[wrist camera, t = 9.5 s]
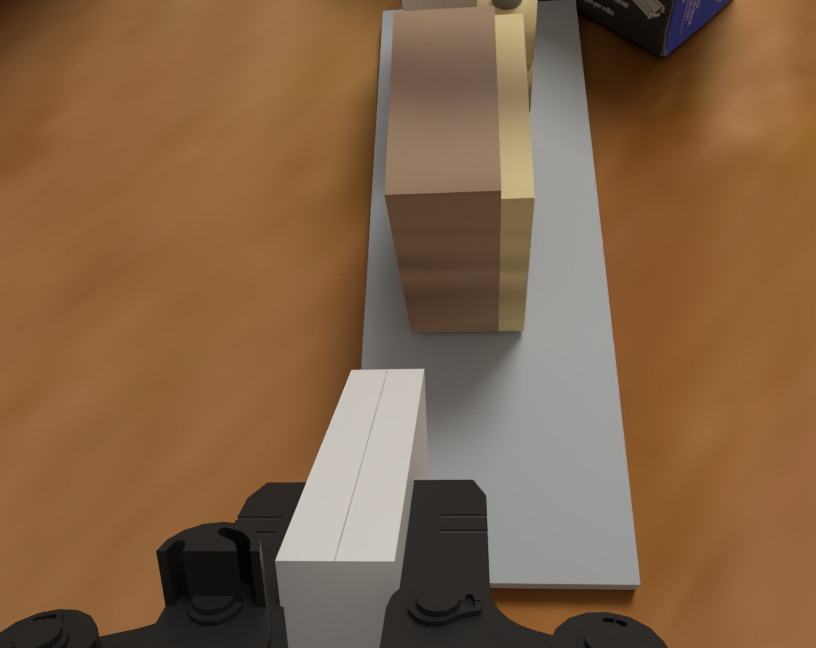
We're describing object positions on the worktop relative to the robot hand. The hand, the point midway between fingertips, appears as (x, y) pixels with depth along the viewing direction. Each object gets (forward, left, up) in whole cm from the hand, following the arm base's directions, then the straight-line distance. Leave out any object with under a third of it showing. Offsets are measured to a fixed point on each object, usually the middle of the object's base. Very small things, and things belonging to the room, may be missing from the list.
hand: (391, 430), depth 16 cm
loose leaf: (-14, +3, -12) cm, 19 cm away
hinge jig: (-13, +3, -14) cm, 20 cm away
